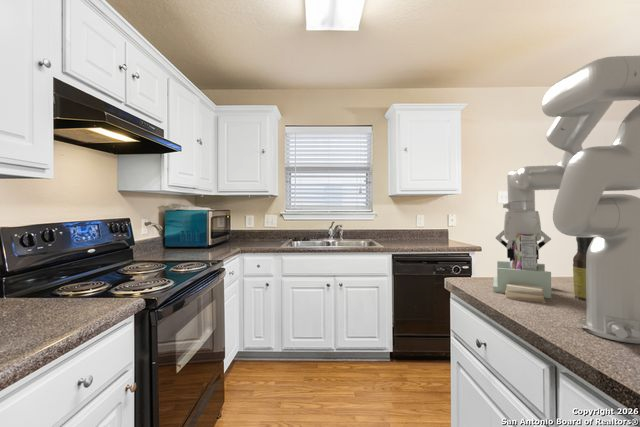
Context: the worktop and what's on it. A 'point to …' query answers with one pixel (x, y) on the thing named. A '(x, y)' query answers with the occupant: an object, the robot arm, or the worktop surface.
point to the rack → (522, 278)
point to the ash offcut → (524, 289)
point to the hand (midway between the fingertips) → (522, 260)
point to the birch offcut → (524, 296)
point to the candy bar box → (524, 252)
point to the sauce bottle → (580, 266)
